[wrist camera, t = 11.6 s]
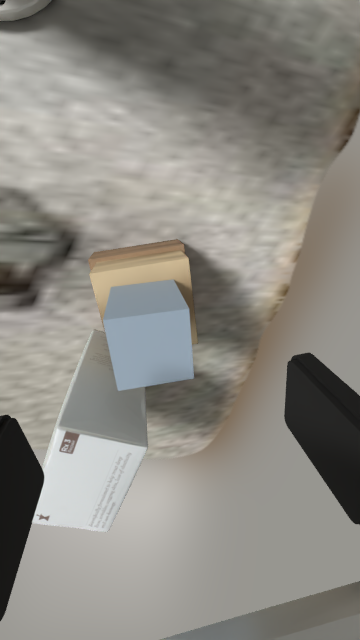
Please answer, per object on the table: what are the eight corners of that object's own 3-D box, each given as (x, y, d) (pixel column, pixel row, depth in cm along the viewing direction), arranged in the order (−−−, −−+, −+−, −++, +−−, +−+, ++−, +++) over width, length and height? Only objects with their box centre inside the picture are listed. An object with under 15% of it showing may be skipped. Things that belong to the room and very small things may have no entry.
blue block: (110, 286, 19) (102, 320, 14) (173, 279, 20) (189, 308, 14) (121, 342, 21) (117, 390, 16) (178, 334, 22) (194, 378, 16)
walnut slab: (94, 252, 26) (88, 260, 22) (177, 238, 27) (183, 244, 23) (113, 327, 29) (110, 344, 26) (186, 313, 30) (194, 329, 26)
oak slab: (96, 262, 22) (89, 273, 19) (179, 249, 23) (188, 258, 19) (115, 337, 25) (112, 359, 22) (188, 323, 26) (197, 343, 22)
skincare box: (120, 399, 33) (111, 538, 19) (69, 387, 31) (19, 530, 17) (145, 340, 30) (155, 452, 17) (90, 323, 28) (51, 433, 15)
